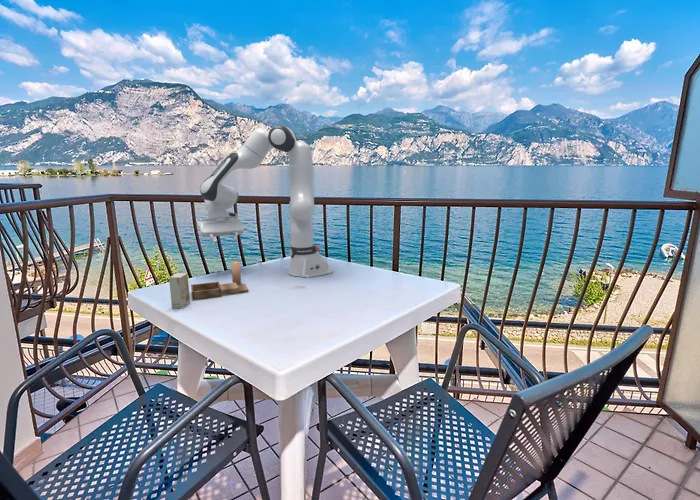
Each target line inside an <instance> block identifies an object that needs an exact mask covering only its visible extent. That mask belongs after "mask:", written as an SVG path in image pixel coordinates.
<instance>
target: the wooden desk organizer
mask: <svg viewBox="0 0 700 500" xmlns="http://www.w3.org/2000/svg"><path fill="white" fill-rule="evenodd" d="M190 287H191V296H192V297H191V300H192V301H199V300H206V299H207V300H209V299H215V298H222V297H223V296H231V295H232V296H233V295H238V294H240V295H241V294H247V293H249V291H250V290H249V288H248V286H247V284H245V283H244V284H243V283H242V284H241V285H237V284H236V283H233V282H229V283H221V284H220V281H212V282H204V283H194V284H193V283H192V284H190Z"/></svg>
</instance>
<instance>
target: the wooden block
mask: <svg viewBox="0 0 700 500" xmlns="http://www.w3.org/2000/svg"><path fill="white" fill-rule="evenodd" d="M230 263H231V276H232V283H236V284H237V285H242V277H241V276H242V275H241V261H239V260H233V261H231V262H230Z"/></svg>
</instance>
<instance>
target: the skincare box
mask: <svg viewBox="0 0 700 500" xmlns="http://www.w3.org/2000/svg"><path fill="white" fill-rule="evenodd" d="M168 280H169V281H168V282H169V290H170V291H169V292H170V302H171V309H184V308H186V306H188V305H190V304H191V299H190V288H189V287H190V285H189V276H188V272H187V273H185V272H177V273H174V274H172V275H171V276H170V277H168Z"/></svg>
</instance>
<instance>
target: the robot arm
mask: <svg viewBox="0 0 700 500" xmlns="http://www.w3.org/2000/svg"><path fill="white" fill-rule="evenodd" d="M311 148H312V147H311V146H310V145H309V144H308V143H306V142H304V141H298V138H297V135H296V134H295V131H293V130H292V129H291V128H289V127H287V126H285V125H282V124H280V125H279V124H278V125H274V126H273V127H271V128H270V130H269V131H268V130H267V129H265V128H261V127H258V128H255V130H253V132H252V133H250V135H249V136H248V137H247V139H246V140H245V141H244V143H243V144H242V146H241V147H240V148H239V149H237V150H236V151H234V152H231V153H229V154H228V155H227V156H226V157H225V158H224V159H223V161H222V162H221V163H220V164H219V165H218V166H217V167H216V168H215V170H214V171H212V173H211V174H210V175H209V177H207V178H205V180H204V181H202V183H201V184H200V187H199V193H200V195H201V197H202V198H203V200H204V207H205V210H206V212H207V216H208V219H207V218H205V219H201V218H200V219H199V220H198V221H197V222H196V224H197V226H198V228H199V235H200V237H201V238H209V240H211V242H212V243H213V244H215V245H216V244H218V239H217V238H215V237H222V236H223V237H225V236H233V238H232V239H233V243H234V242H235V243H237V242H238V236H239V235H243V234H244V232H245V231H244V230H245V227H244V224H243V222H242V220H241V219H240V218H239V215H238V213H236V212H230V211H227V210H229V209H230V208H232V207H233V206H234V205H235V204H237V203H238V201H239V192H238V190H237V188H234V187H233V186H230V185H227V184H226V183H225V184H224V183H222V182H223V181H225V179H226V178H227V177H228V176H229V174H231V172H233V171H235V170H238V169H248V170H249V169H250V170H253V169H256V168H258V167H259V166H260V165H261V164H262V163H263V161H264V160H265V158H266V157H267V155H268V154H269V152H270V151H271V150H272V149H276V150H278V151H280V152H285V153H286V154H287V155H288V163H289V164H288V165H289V166H288V167H289V172H288V173H289V176H288V177H289V193H290V194H289V196H290V201H289V203H288V204H289V205H288V207H289V227H290V229H289V230H290V245H289V257H290V261H289V262H290V263H289V268H288V272H287V273H288V274H289V275H290V276H293V277H300V278H301V277H302V278H307V279H308V278H309V279H310V278H314V277H318V276H323V275H324V276H325V275H329V274H333V268H331V267H330V266H329V263H328V260H327V259H326V258H325V257H324V256H323V255H322V254H320V253H319V251H320V250H321V248H320V247H319V246H316V245H314V228H313V218H312V216H313V214H314V212H315V197H314V183H313V180H314V179H313V175H314V174H313V173H314V172H313V171H314V170H313V153H312V149H311Z"/></svg>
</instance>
